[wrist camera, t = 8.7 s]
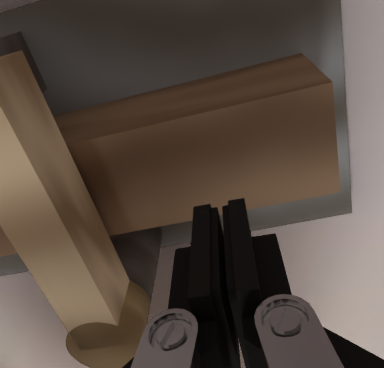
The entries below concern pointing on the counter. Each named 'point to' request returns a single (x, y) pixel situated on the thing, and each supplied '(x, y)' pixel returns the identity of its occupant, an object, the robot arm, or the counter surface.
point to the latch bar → (62, 228)
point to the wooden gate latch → (190, 112)
